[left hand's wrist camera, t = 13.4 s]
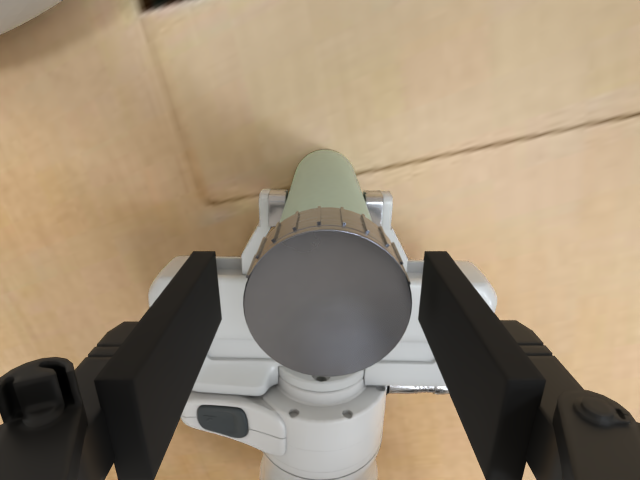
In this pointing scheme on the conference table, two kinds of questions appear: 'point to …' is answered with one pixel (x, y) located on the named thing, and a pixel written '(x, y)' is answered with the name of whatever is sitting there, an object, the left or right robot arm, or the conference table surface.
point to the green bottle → (325, 185)
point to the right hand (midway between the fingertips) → (325, 191)
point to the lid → (327, 293)
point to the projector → (21, 12)
